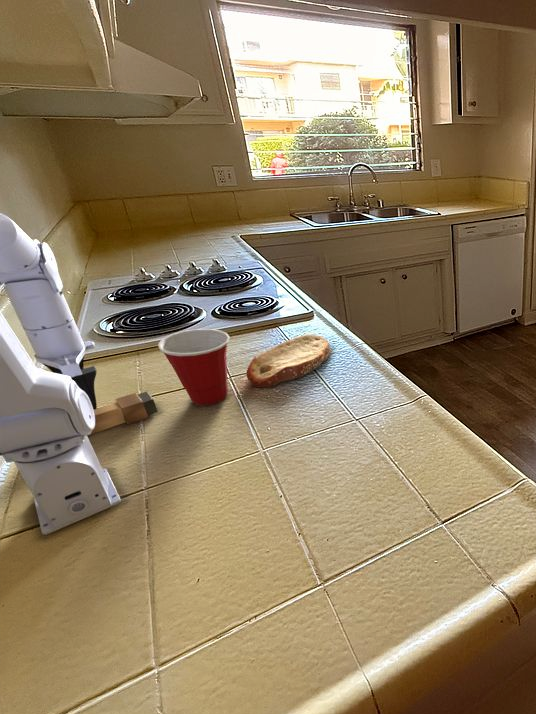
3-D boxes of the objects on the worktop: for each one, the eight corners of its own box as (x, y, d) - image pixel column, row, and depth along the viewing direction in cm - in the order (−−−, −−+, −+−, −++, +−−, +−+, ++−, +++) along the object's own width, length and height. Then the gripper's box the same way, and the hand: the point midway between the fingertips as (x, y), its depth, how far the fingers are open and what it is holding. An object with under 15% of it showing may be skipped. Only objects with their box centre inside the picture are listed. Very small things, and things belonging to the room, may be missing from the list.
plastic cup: (230, 412, 81) (212, 350, 76) (165, 414, 81) (143, 352, 75) (252, 382, 91) (238, 325, 86) (195, 384, 90) (177, 327, 85)
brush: (67, 445, 73) (59, 428, 71) (63, 434, 75) (55, 417, 74) (158, 413, 81) (153, 398, 79) (151, 404, 84) (146, 389, 82)
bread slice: (324, 339, 110) (322, 325, 108) (345, 370, 96) (342, 353, 94) (241, 356, 102) (237, 340, 100) (251, 392, 88) (246, 374, 86)
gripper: (92, 328, 66) (124, 408, 72) (74, 304, 75) (104, 377, 81) (26, 343, 62) (67, 427, 68) (16, 315, 71) (52, 392, 77)
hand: (83, 401), depth 74 cm, fingers open, 7 cm apart
